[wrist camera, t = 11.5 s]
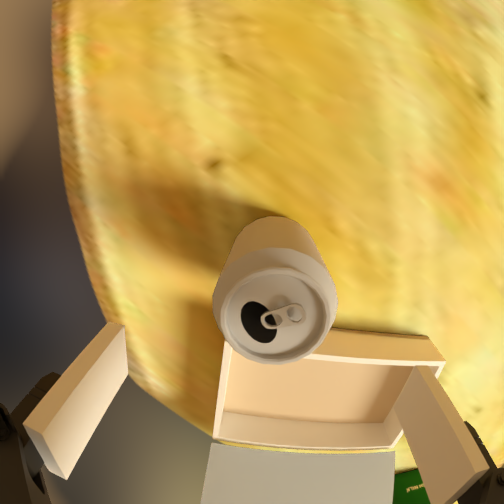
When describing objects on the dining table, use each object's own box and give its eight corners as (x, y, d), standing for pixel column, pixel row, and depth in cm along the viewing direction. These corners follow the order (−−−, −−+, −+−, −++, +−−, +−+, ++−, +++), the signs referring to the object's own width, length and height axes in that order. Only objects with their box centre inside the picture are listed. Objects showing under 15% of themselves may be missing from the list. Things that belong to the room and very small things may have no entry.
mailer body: (231, 313, 30) (224, 341, 25) (427, 336, 29) (446, 361, 25) (218, 408, 34) (212, 438, 29) (383, 421, 34) (392, 448, 29)
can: (218, 234, 27) (182, 288, 16) (296, 200, 26) (316, 233, 15) (253, 304, 29) (242, 388, 18) (326, 275, 28) (358, 349, 17)
